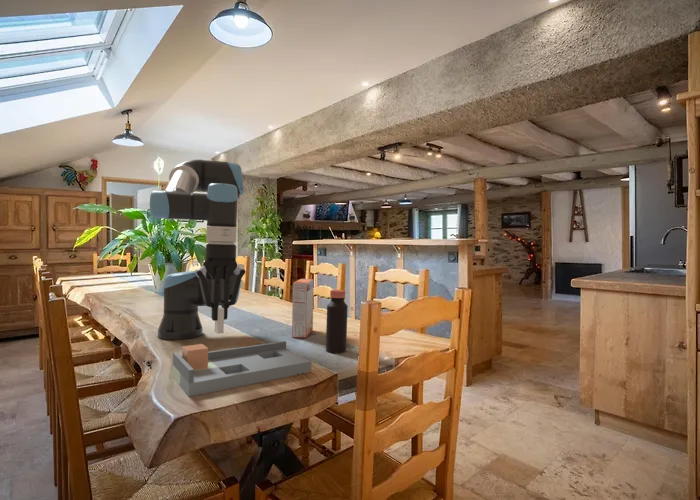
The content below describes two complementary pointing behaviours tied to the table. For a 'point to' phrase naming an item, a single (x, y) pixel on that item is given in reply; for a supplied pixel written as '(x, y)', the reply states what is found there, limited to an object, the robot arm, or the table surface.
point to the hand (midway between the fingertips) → (219, 332)
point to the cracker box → (302, 308)
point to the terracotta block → (196, 356)
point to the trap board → (239, 368)
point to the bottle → (336, 323)
